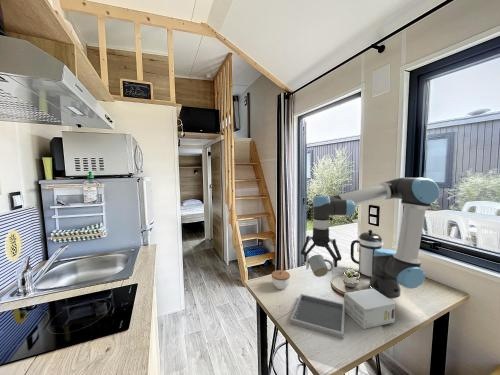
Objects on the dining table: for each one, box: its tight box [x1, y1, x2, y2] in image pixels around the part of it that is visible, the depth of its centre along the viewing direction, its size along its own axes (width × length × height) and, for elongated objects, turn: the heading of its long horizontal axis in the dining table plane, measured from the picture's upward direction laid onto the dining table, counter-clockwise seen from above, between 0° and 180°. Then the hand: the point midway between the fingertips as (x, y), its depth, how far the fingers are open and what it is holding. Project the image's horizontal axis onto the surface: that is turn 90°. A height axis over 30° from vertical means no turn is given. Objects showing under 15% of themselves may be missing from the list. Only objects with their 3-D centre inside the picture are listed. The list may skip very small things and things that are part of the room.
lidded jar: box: [271, 269, 291, 290], centre depth 127 cm, size 11×11×9 cm
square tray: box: [289, 293, 346, 340], centre depth 101 cm, size 22×22×2 cm
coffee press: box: [350, 229, 384, 278], centre depth 139 cm, size 17×16×30 cm
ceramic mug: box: [308, 254, 333, 278], centre depth 105 cm, size 11×8×8 cm
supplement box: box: [343, 288, 396, 330], centre depth 100 cm, size 17×13×9 cm
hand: (320, 270), depth 106 cm, fingers closed on ceramic mug, 12 cm apart
